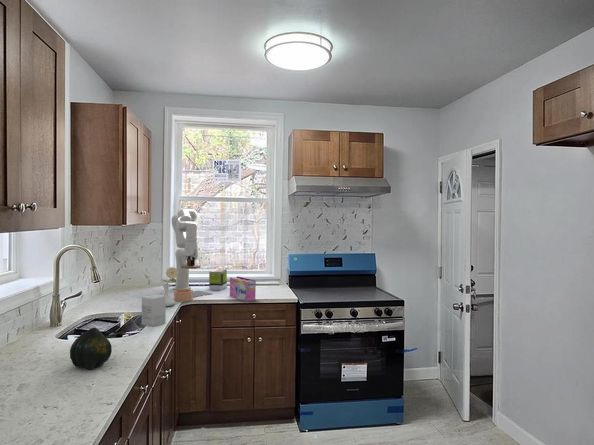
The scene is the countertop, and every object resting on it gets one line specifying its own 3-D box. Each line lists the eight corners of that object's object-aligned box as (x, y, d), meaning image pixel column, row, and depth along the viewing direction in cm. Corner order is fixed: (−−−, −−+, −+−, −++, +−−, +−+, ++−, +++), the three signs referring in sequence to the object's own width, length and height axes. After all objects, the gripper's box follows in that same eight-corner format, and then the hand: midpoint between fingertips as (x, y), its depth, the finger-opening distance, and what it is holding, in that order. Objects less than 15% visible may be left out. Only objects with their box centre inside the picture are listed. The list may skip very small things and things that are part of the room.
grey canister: (154, 320, 227) (154, 293, 227) (165, 323, 222) (166, 295, 222) (140, 324, 219) (141, 296, 219) (152, 327, 215) (152, 298, 214)
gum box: (228, 295, 299) (228, 277, 299) (237, 294, 304) (237, 276, 304) (246, 301, 281) (246, 281, 281) (255, 299, 286) (256, 280, 286)
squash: (70, 363, 148) (98, 326, 155) (56, 354, 158) (82, 320, 165) (100, 380, 156) (126, 345, 163) (85, 371, 166) (109, 338, 173)
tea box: (215, 286, 334) (215, 268, 334) (227, 287, 333) (227, 268, 333) (208, 289, 320) (209, 271, 319) (221, 290, 318) (221, 271, 318)
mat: (179, 294, 301) (179, 293, 301) (198, 291, 314) (198, 290, 314) (193, 297, 290) (193, 296, 290) (212, 294, 303) (212, 293, 303)
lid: (177, 266, 293) (177, 258, 293) (193, 265, 303) (193, 256, 303) (187, 269, 284) (188, 260, 284) (204, 267, 294) (204, 258, 294)
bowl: (170, 299, 283) (170, 290, 282) (185, 296, 292) (186, 288, 292) (180, 302, 275) (181, 293, 274) (196, 299, 284) (196, 290, 284)
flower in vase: (156, 308, 257) (156, 268, 256) (157, 304, 268) (157, 266, 267) (177, 307, 260) (178, 268, 260) (178, 303, 271) (178, 265, 271)
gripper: (180, 239, 295) (179, 264, 296) (193, 240, 284) (192, 267, 285) (189, 238, 301) (188, 263, 302) (202, 240, 290) (202, 266, 291)
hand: (190, 264), depth 293 cm, fingers closed on lid, 3 cm apart
